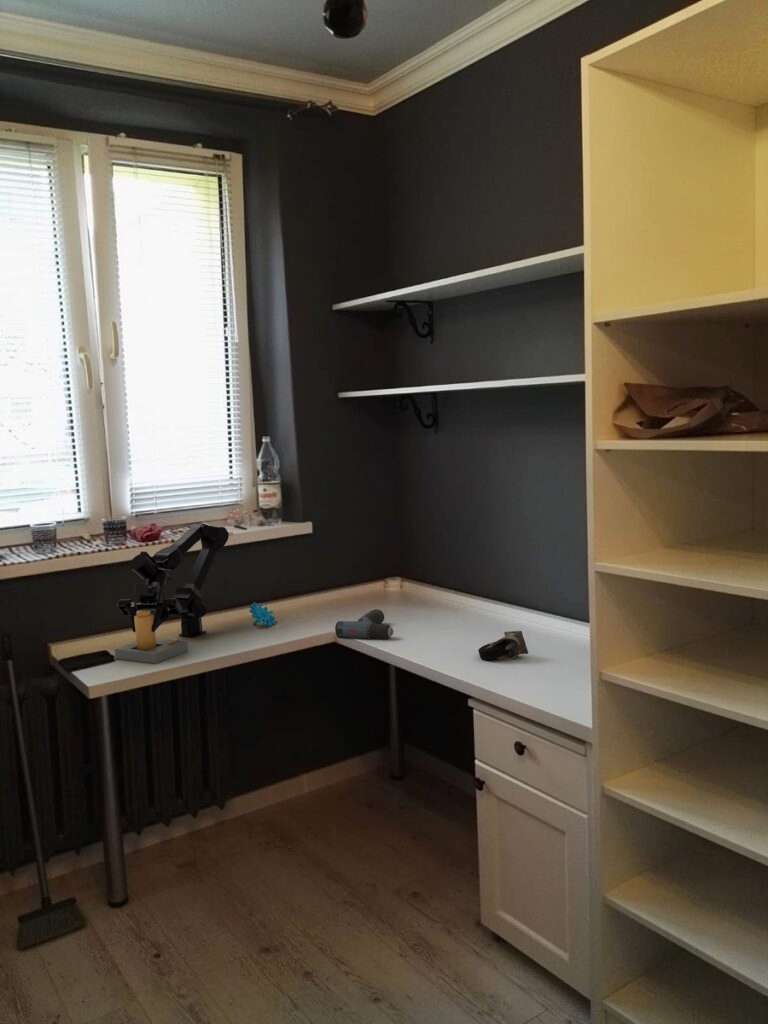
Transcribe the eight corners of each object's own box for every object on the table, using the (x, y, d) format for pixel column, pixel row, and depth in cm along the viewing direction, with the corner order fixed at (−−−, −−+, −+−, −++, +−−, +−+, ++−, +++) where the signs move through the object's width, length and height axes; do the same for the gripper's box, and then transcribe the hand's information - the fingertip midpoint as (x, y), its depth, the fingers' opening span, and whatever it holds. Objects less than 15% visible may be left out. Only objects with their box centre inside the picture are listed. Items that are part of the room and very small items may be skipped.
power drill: (414, 626, 279) (390, 643, 261) (362, 623, 287) (334, 639, 269) (413, 609, 279) (389, 625, 261) (361, 607, 286) (333, 622, 268)
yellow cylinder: (146, 648, 263) (143, 608, 262) (160, 650, 261) (157, 609, 259) (133, 653, 258) (129, 612, 257) (147, 655, 256) (143, 613, 254)
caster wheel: (477, 667, 239) (500, 654, 246) (506, 666, 231) (530, 653, 237) (469, 644, 239) (493, 631, 245) (499, 643, 230) (522, 629, 237)
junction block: (148, 646, 271) (147, 634, 271) (188, 650, 264) (187, 638, 263) (115, 658, 259) (114, 646, 259) (155, 663, 251) (154, 650, 251)
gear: (262, 625, 283) (246, 602, 287) (252, 637, 285) (236, 614, 289) (283, 622, 293) (267, 599, 296) (273, 633, 295) (257, 611, 298)
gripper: (116, 573, 262) (102, 618, 252) (175, 571, 259) (163, 616, 250) (129, 593, 271) (117, 637, 261) (187, 591, 268) (176, 636, 258)
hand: (143, 631), depth 257 cm, fingers closed on yellow cylinder, 5 cm apart
